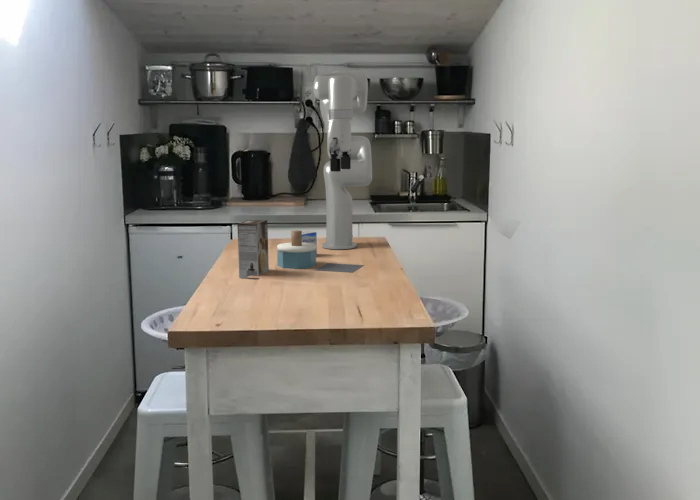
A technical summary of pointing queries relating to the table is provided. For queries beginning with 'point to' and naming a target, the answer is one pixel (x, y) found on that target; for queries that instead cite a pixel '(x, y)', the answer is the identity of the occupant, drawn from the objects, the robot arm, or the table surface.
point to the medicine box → (310, 238)
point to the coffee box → (252, 248)
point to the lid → (296, 244)
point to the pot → (296, 259)
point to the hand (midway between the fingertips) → (340, 170)
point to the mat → (339, 267)
